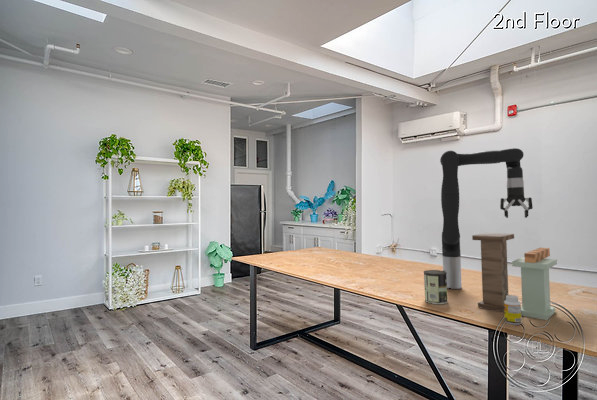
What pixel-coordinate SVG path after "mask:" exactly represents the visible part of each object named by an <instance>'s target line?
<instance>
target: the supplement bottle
mask: <svg viewBox="0 0 597 400" xmlns="http://www.w3.org/2000/svg"><path fill="white" fill-rule="evenodd" d="M521 307H522V302H520V300H519V297H518V296H517V295H514V294H513V295H512V294H508V295H506V300H505V301H504V312H503V313H504V314H503V315H504V322H505V323H506V324H508V325H512V326H513V325H515V326H519V325H521V324H522V316H521Z"/></svg>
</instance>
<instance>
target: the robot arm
mask: <svg viewBox="0 0 597 400" xmlns="http://www.w3.org/2000/svg"><path fill="white" fill-rule="evenodd" d="M524 156H525V155H524V152H523V150H522V149H520V148H515V147H513V148H507V149H499V150H498V149H497V150H483V151H476V152H471V153H469V152H468V153H457V152H456V151H454V150H446V151H445V152H444V153H442V155H441V157H440V159H439V160H440V161H439V163H440V164H441V167H442V182H441V192H440V198H441V199H440V201H441V204H440V205H441V211H442V217H443V221H442V222H443V224H442V232H441V250H442V251H441V252H442V253H441V254H442V271H445V272H447V274H446V276H447V289H449V288H451V290H459V289H462V286H463V284H462V260H461V259H462V258H461V256H462V255H461V233H460V227H459V212H460V185H459V179H458V178H459V177H458V175H459V173H458V172H459V167H460V166H469V165H490V164H491V165H492V164H500V163H505V166H506V170H507V171H506V179H507V181H506V192H507V195H506V196H507V197H506V198H504V197H503V198H500V201H499V202H500V203H499V204H500V205H499V207H500V210H503V211H504V213H503V215H504V217H505V218H507V219H508V218H509V209H510V208H511V207H520V206H521V207H522V208H523V209H524V219H525V218H526V219H527V218H528V217H529V211H530V210H533V198H532V197H525V186H524V185H525V182H524V176H523V175H524V174H523V173H524V172H523V171H524V170H523V168H522V166H521V160H522V159H523V158H524ZM525 201H526V202H527V204H528V207H527V205H526V204H525V203H524V202H525ZM506 202H508V204H507V205H506V206H504V205H505V203H506Z"/></svg>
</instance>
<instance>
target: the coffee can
mask: <svg viewBox="0 0 597 400" xmlns="http://www.w3.org/2000/svg"><path fill="white" fill-rule="evenodd" d="M446 274H447V272H445V271H443V270H440V269H429V270H428V269H426V270H424V271H423V279H424V280H423V281H424V282H423V284H424V302H425V301H426V302H425V303H427V302H428V303H427V304H431V303H432V304H433V305H445V304H448V303H449V302H448V288H447V276H446ZM432 304H431V305H432Z"/></svg>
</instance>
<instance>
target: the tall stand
mask: <svg viewBox="0 0 597 400" xmlns="http://www.w3.org/2000/svg"><path fill="white" fill-rule="evenodd" d="M471 237H472V238H471V239H472V241H480V257H481V284H482V285H481V286H482V287H481V288H482V289H481V290H482V291H481V292H482V300H480V301H478V302H477V308H479V309H485V310H490V311H495V312H500V313H504V301H505V300H506V295H509V279H508V278H509V272H508V271H509V270H508V248H507V245H508V243H507V241H510V240H513V239H515V233H500V232H499V233H498V232H497V233H496V232H494V233H493V232H484V233H479V234H474V235H471Z"/></svg>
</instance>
